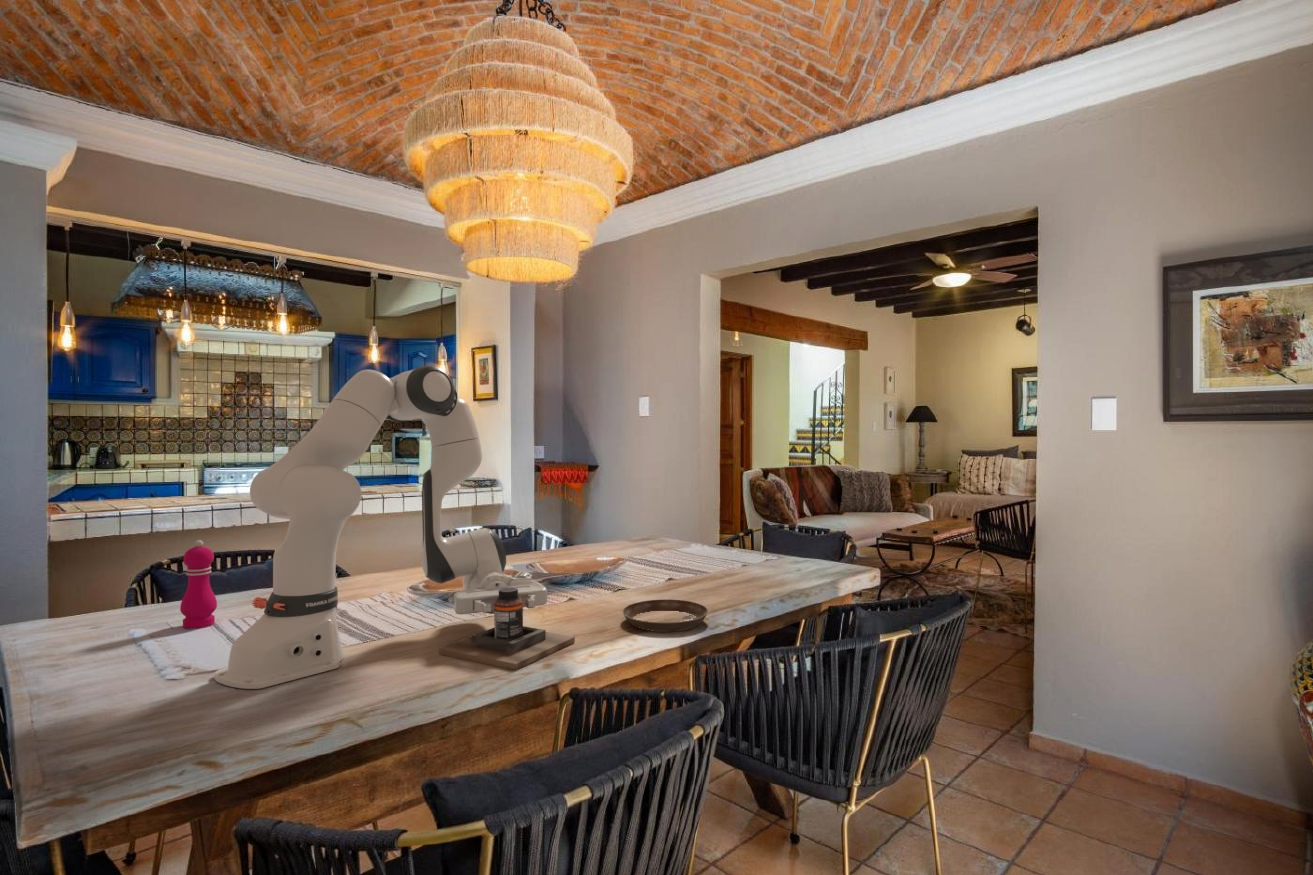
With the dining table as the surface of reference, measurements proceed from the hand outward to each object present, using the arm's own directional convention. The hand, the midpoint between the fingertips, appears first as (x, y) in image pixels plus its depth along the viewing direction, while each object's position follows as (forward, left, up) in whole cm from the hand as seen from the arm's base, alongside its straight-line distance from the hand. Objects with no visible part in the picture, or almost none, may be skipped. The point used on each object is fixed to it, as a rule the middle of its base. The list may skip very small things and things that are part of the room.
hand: (510, 606), depth 146 cm
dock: (+1, +1, -9) cm, 9 cm away
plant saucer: (+35, -19, -9) cm, 41 cm away
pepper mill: (-20, +76, -9) cm, 79 cm away
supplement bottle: (+1, +1, -8) cm, 8 cm away
